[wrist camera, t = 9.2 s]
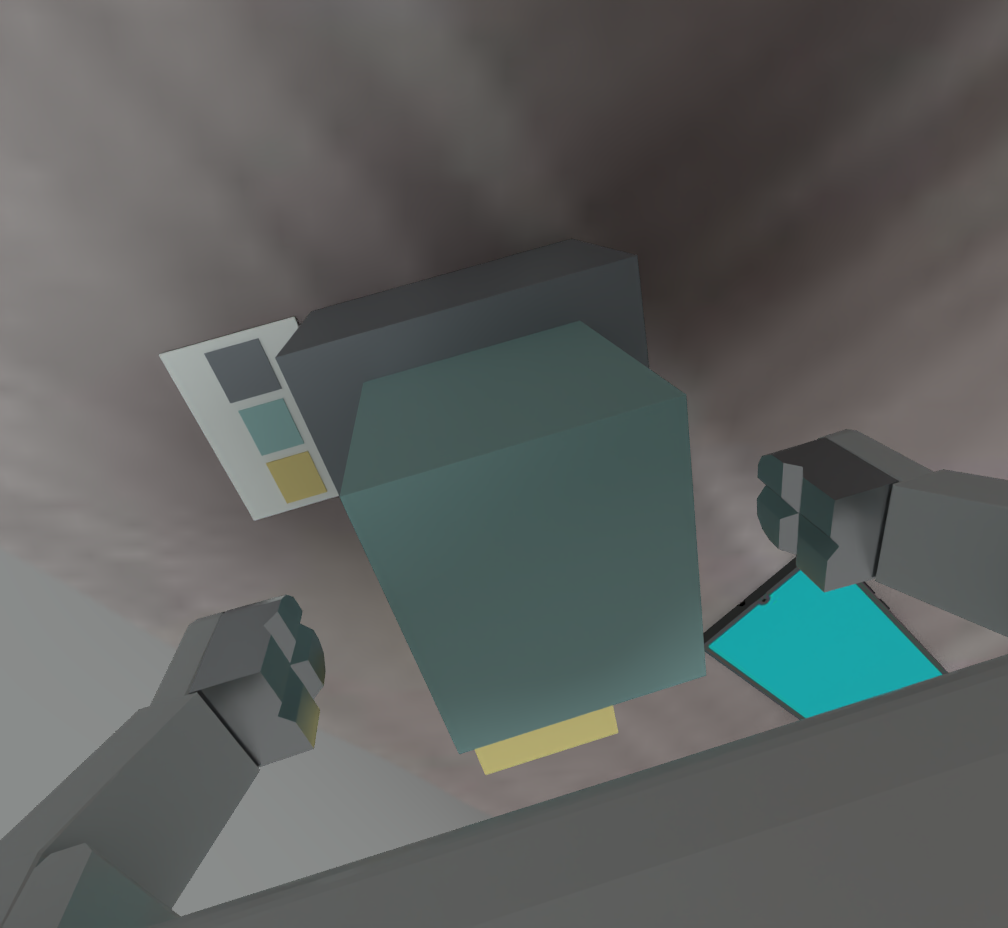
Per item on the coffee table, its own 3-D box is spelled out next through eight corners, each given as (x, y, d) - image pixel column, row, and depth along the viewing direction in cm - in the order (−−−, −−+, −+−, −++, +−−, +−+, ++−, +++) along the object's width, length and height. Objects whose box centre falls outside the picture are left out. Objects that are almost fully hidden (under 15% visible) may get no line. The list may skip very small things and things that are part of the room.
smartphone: (843, 751, 31) (699, 648, 24) (833, 738, 31) (690, 634, 25) (952, 674, 29) (828, 541, 23) (938, 662, 30) (814, 530, 24)
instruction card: (160, 353, 15) (157, 355, 15) (294, 315, 15) (293, 317, 15) (254, 519, 18) (253, 521, 18) (367, 485, 18) (367, 488, 18)
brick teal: (363, 382, 12) (340, 497, 7) (579, 320, 12) (686, 394, 7) (441, 583, 14) (459, 754, 10) (614, 531, 15) (706, 675, 10)
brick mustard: (429, 562, 20) (437, 662, 16) (552, 525, 21) (593, 614, 16) (469, 665, 23) (485, 775, 19) (577, 632, 23) (618, 732, 19)
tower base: (311, 311, 15) (275, 357, 11) (571, 238, 16) (637, 255, 11) (400, 527, 19) (399, 625, 15) (608, 465, 20) (667, 543, 15)
